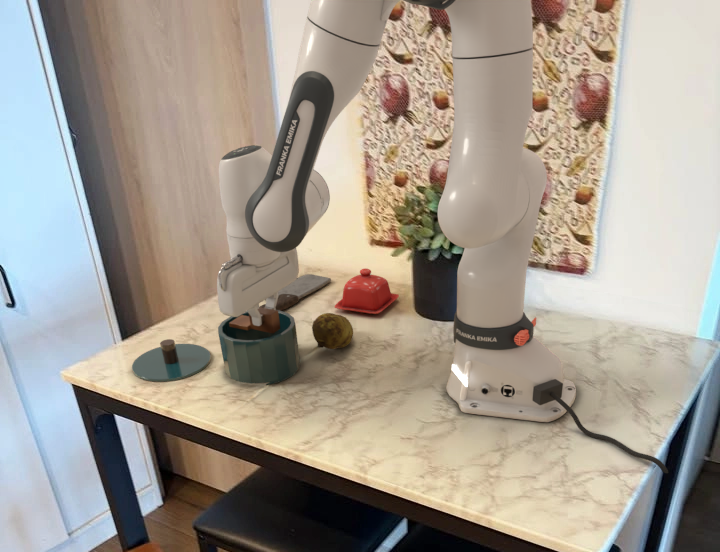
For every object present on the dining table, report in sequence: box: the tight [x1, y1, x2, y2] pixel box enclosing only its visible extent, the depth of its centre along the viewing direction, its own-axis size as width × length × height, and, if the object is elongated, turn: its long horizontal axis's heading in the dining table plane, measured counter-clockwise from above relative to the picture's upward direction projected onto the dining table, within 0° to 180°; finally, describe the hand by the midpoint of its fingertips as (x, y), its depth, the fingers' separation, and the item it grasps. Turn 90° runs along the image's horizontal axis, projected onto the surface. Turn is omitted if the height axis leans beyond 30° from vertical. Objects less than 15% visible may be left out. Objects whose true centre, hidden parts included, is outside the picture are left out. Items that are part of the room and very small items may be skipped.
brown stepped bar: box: [229, 306, 280, 333], centre depth 141 cm, size 10×4×4 cm, turn 60°
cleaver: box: [259, 273, 332, 311], centre depth 173 cm, size 30×10×2 cm, turn 147°
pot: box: [217, 310, 301, 386], centre depth 144 cm, size 14×15×9 cm
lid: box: [131, 338, 212, 383], centre depth 148 cm, size 15×15×5 cm
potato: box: [311, 312, 354, 350], centre depth 150 cm, size 8×13×8 cm, turn 149°
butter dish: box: [334, 268, 400, 315], centre depth 165 cm, size 12×12×8 cm
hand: (264, 320), depth 140 cm, fingers closed on brown stepped bar, 2 cm apart
